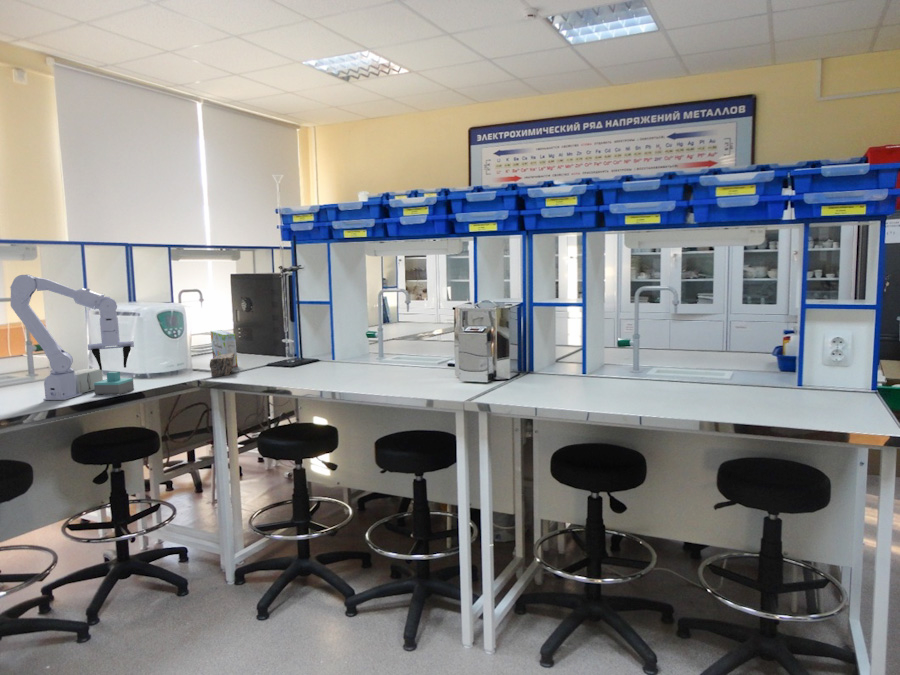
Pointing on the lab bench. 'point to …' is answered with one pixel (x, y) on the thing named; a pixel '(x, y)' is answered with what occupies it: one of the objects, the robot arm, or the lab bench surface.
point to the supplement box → (87, 379)
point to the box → (114, 388)
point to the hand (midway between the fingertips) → (113, 368)
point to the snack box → (223, 344)
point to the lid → (113, 379)
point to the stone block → (222, 364)
